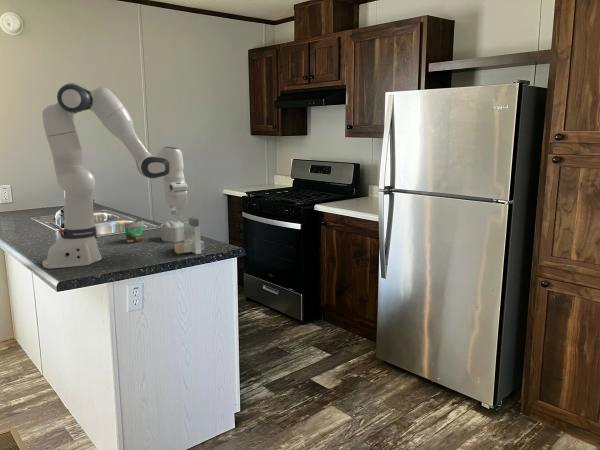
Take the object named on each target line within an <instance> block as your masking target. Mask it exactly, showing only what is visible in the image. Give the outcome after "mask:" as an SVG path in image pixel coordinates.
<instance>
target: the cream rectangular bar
mask: <svg viewBox="0 0 600 450" xmlns="http://www.w3.org/2000/svg"><path fill="white" fill-rule="evenodd" d="M205 250H206V249H205V241H203V240H201V251H205ZM191 252H192V242H189V243H185V242H183V243H182V242H180V243H179V242H178V243H177V242H176V243H174V253H176V254H184V253H191ZM192 253H193V252H192Z"/></svg>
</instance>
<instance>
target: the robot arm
mask: <svg viewBox="0 0 600 450" xmlns="http://www.w3.org/2000/svg"><path fill="white" fill-rule="evenodd" d="M56 94H57V95H56V100H57V102H56V103H55V104H51V105H47V106H46V107H44V109H43V110H42V113H41V114H42V115H41V116H42V122H43V128H44V132H45V136H46V140H47V142H48V145H49V149H50V153H51V155H52V160H53V166H54V170H55V174H56V180H57V184H58V185H59V187H60V188H61V189H62V190H63V191H64V194H65V195H64V206H63V207H64V208H63V214H64V215H63V216H64V224H65V228H58V233H59V234H60V237H61V238H59V239H58V240H57V241H56V242H55V243H54V244H52V245H51V246H50V247H49V249H48V252H47V258H46V259H44V260H42V267H43V268H45V269H61V268H71V267H80V266H84V267H85V266H89V265H91V264H93V263H96V262H99V261H101V260H102V258H103V257H102V255H101V253H100V251H99V250H100V249H99V245H98V241H97V239H98V233H97V227H96V225H95V216H94V215H95V213H94V199H95V188H96V179H95V176H94V175H93V174H92V172H90V171H89V170H88V169H85V167H84V163H83V152H82V151H83V150H82V147H81V143H80V139H79V135H78V133H77V129H76V126H75V123H74V115H75V114H77V113H81V112H85V111H88V110H89V111H91V112H92V113H93V114H94V115H95V117H97V119H98V120H99V121H100V122H101V124H102V125H103V126H104V127H105V128H106V130H107V131H109V133H110V134H112V135H113V136H114V137H116V138H117V139H118V140H119V141H121V142H122V143H123V144H124V146H125V147H126V148H127V149H128V151H129V153H130V154H131V155H132V156H133V159H135V163H136V168H137V170H138V172H139V173H140V174H141V175H142V176H143V177H145V178H148V179H158V178H160V177H161V178H162V177H163V189H164V199H165V203H166V204H167V205H169V210H170V214H171V215H173V216H174V215H177V218H178V219H182V218H183V217H184V216H183V213H184V209H187V207H188V190H189V186H188V184H187V182H186V179H185V175H184V169H185V167H184V166H185V165H184V158H183V157H184V156H183V153H182V151H181V150H180V149H179V148H177V147H173V146H163V147H162V148H161V149H160V150H158V151H156V152H154V153H151V152H150V151H148V149H147V148H146V147H145V145H144V144H143V143H142V141H141V140H140V138H139V137H138V135H137V134H136V131H135V127H134V121H133V119H132V116H131V115H130V113H129V111H128V110H127V108H126V107H125V106H124V104H123V103H122V102H121V100H119V98H118V97H117V96H116V95H115V93H113V91H112V90H110V89H109V88H107V87H104V86H100V87H99V86H98V87H97V88H96V87H95V88H94V89H93V90H88V89H86V87H84V86H83V85H81V84H79V83H74V82H70V83H67V84H64V85H62V86H61V87H60V88H59V89H58V91H57V92H56ZM176 210H177V211H176Z"/></svg>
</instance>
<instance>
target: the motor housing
mask: <svg viewBox="0 0 600 450" xmlns="http://www.w3.org/2000/svg"><path fill="white" fill-rule="evenodd" d="M183 224H184V240H183V241H184V243H189V242H192V253H193V254H195V255H199V254H202V250H201V241H202V240H201V238H202V237H201V226H200V222H199V218H197V217H195V216H192V217H188V221H187V220H186V221H183Z"/></svg>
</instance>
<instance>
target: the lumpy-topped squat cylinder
mask: <svg viewBox="0 0 600 450" xmlns="http://www.w3.org/2000/svg"><path fill="white" fill-rule="evenodd" d="M160 240H161V241H163V242H168V243H177V242H178V243H179V242H181V241H185V240H184V222H181V221H180V220H176V221H172V220H169V221H164V222H162V224H160Z"/></svg>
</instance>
